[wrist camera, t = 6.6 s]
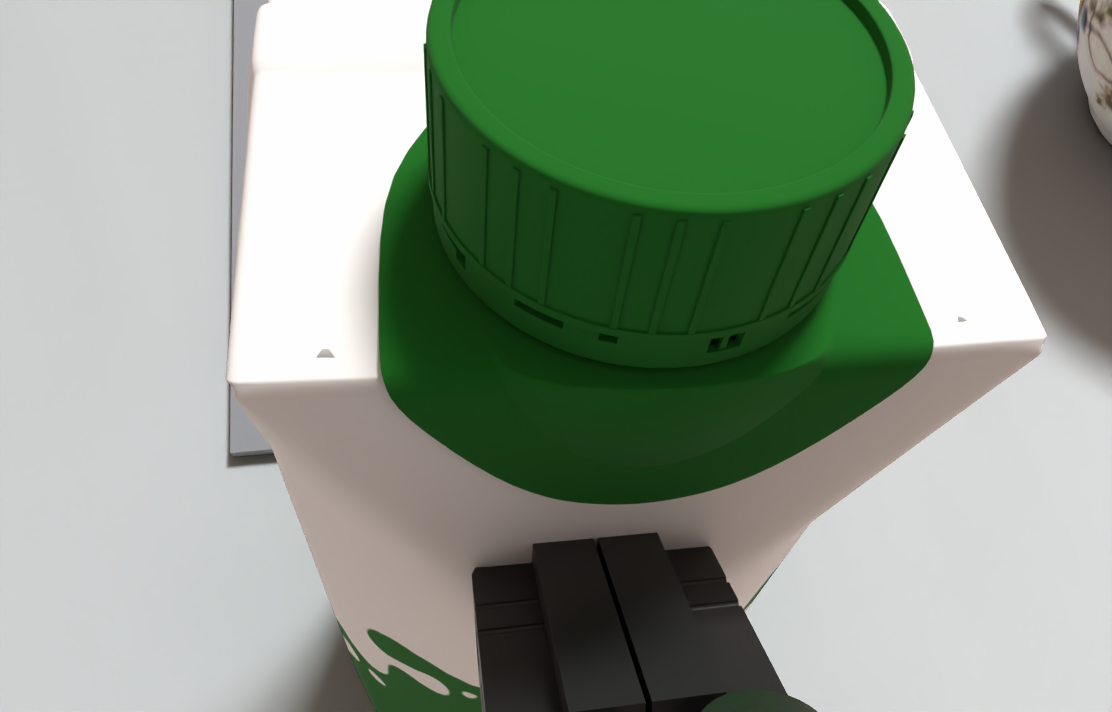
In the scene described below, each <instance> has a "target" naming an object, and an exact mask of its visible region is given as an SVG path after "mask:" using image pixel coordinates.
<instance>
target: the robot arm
mask: <svg viewBox="0 0 1112 712" xmlns="http://www.w3.org/2000/svg"><path fill="white" fill-rule="evenodd" d="M472 589H473V603H474V618H475V633H476V647H477V662H478V675H479V685H480V695H481V704H482V712H817V711H816V710H815V709H813V708H812V707H810V706H809V705H807V704H805V703H804V702H802V701H800V700H798V699H796V698H793V697H791V696H788V695H787V693H786V691H785V689H784V687H783V685H782V683H781V681H780V679H779V677H778V675H777V674H776V672H775V670H774V668H773V666H772V664H771V662H770V660H769V658H768V656H767V654H766V652H765V650H764V648H763V647H762V645H761V643H760V641H759V639H758V637H757V635H756V633H755V631H754V629H753V627H752V625H751V623H750V621H749V620H748V618H747V616H746V614H745V612H744V610H743V608H742V606H739V603H738V598H737V596H736V594H735V593H734V591H733V589H732V587H731V585H730V583H729V582H727V580H726V575H725V573H724V571H723V569H722V567H721V566H720V564H719V562H718V560H717V558H716V556H715V554H714V552H713V550H712V548H710V547H709V546H704V547H694V548H683V549H672V550H665V549H664V547H663V544H662V542H661V540H660V538H659V535H658V533H657V532H655V533H644V534H633V535H623V536H612V537H601V538H598V541H597V547H596V546H595V543H594V540H593V538H590V539H579V540H568V541H557V542H546V543H535V544H533V550H532V563H523V564H512V565H502V566H491V567H475V569H474V571H473V573H472Z"/></svg>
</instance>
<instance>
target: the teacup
mask: <svg viewBox="0 0 1112 712" xmlns="http://www.w3.org/2000/svg"><path fill="white" fill-rule="evenodd" d="M1077 53H1078V62H1079V68H1080V74H1081V77H1082V81H1083V84H1084V87H1085V90H1086V93H1087V96H1088V102H1089V108H1090V112H1091V115H1092V117H1093V119H1094V121H1095V123H1096V125H1097V127H1098V128H1099V130H1100V132H1101V133H1102V135H1103V136H1104V137H1105V139H1106V140H1107V141H1108V142H1109V143H1110V144H1111V145H1112V0H1080V5H1079V14H1078V22H1077Z"/></svg>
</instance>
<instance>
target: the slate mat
mask: <svg viewBox="0 0 1112 712" xmlns="http://www.w3.org/2000/svg"><path fill="white" fill-rule="evenodd" d="M264 4H268V0H234V58H233V169H232V279H231V311H232V298H233V286H234V274H235V262H236V249H237V237H238V225H239V214H240V203H241V192H242V181H243V170H244V159H245V148H246V133H247V97H248V84H249V72H250V63H251V54H252V44H253V36H254V28H255V21H256V15H257V12H258V9H259V8H260V7H261V6H262V5H264ZM269 453H273V450H272V449H271V447H270V445H269V444H268V443H267V441H266V440H265V438H264V437H263V436H262V435H261V433H260V432H259V431H258V429H257V428H256V427H255V425H254V424H253V423H252V421H251V420H250V419H249V417H248V416H247V415H246V413H245V412H244V411H243V409H242V408H241V407H240V406H239V404H238V403H237V402H236V401H235V399H234V397H233V387H232V386H231V390H230V454H231V455H232V456H233V457H236V456H247V455H258V454H269Z"/></svg>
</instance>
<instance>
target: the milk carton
mask: <svg viewBox="0 0 1112 712" xmlns="http://www.w3.org/2000/svg"><path fill="white" fill-rule="evenodd" d="M913 63H914V62H913V58H912V54H911V52H910V49H909V47H908V45H907V43H906V41H905V39H904V37H903V35H902V33H901V31H900V29H899V27H898V25H897V24H896V22H895V20H894V18H893V17H892V15H891V13H890V11H889V10H888V9H887V7H886V6H885V5H884V4H883V3H882V2H880V1H878V0H268V4H264V5H262V6H261V7H260V8H259V9H258V12H257V15H256V21H255V28H254V36H253V44H252V54H251V63H250V72H249V84H248V97H247V133H246V148H245V159H244V170H243V181H242V192H241V203H240V214H239V225H238V237H237V249H236V262H235V274H234V286H233V298H232V311H231V323H230V335H229V346H228V357H227V369H226V381H227V382H228V383H229V384H230V385H231V386H232V387H233V397H234V399H235V401H236V402H237V403H238V404H239V406H240V407H241V408H242V409H243V411H244V412H245V413H246V415H247V416H248V417H249V419H250V420H251V421H252V423H253V424H254V425H255V427H256V428H257V429H258V431H259V432H260V433H261V435H262V436H263V437H264V438H265V440H266V441H267V443H268V444H269V445H270V447H271V449H272V450H273V453H274V455H275V458H276V460H277V463H278V465H279V468H280V471H281V473H282V476H283V479H284V482H285V484H286V487H287V490H288V492H289V495H290V498H291V501H292V503H293V506H294V508H295V511H296V514H297V516H298V519H299V522H300V524H301V527H302V529H303V532H304V535H305V537H306V540H307V543H308V545H309V548H310V551H311V553H312V556H313V558H314V561H315V564H316V566H317V569H318V572H319V574H320V577H321V579H322V582H323V585H324V587H325V590H326V593H327V595H328V598H329V601H330V603H331V606H332V608H333V611H334V614H335V616H336V619H337V622H338V624H339V627H340V629H341V632H342V635H343V637H344V640H345V642H346V645H347V647H348V650H349V652H350V655H351V658H352V660H353V663H354V666H355V668H356V670H357V672H358V675H359V677H360V679H361V681H362V683H363V685H364V687H365V690H366V692H367V694H368V696H369V698H370V700H371V702H372V704H373V706H374V708H375V710H376V712H482V704H481V695H480V685H479V675H478V662H477V647H476V633H475V618H474V603H473V589H472V573H473V571H474V569H475V567H491V566H502V565H512V564H523V563H532V550H533V544H535V543H546V542H557V541H568V540H579V539H590V538H593V540H594V543H595V546H596V547H597V541H598V538H601V537H612V536H623V535H633V534H644V533H655V532H657V533H658V535H659V538H660V540H661V542H662V544H663V547H664V549H665V550H672V549H683V548H694V547H704V546H709V547H710V548H712V550H713V552H714V554H715V556H716V558H717V560H718V562H719V564H720V566H721V567H722V569H723V571H724V573H725V575H726V580H727V582H729V583H730V585H731V587H732V589H733V591H734V593H735V594H736V596H737V598H738V603H739V606H742V608H743V610H744V612H745V611H746V610H747V609H748V607H749V606H750V604H751V603H752V602H753V600H754V599H755V598H756V596H757V595H758V593H759V592H760V591H761V589H762V588H763V587H764V585H765V584H766V583H767V581H768V580H769V578H770V577H771V576H772V574H773V573H774V572H775V570H776V569H777V567H778V566H779V565H780V563H781V562H782V561H783V559H784V558H785V557H786V555H787V554H788V552H789V551H790V550H791V548H792V547H793V546H794V544H795V543H796V542H797V540H798V539H799V537H800V536H801V535H802V533H803V532H804V531H805V529H806V528H807V527H808V525H809V524H810V523H811V522H812V521H813V520H815V519H816V518H817V517H819V516H820V515H821V514H823V513H824V512H825V511H827V510H828V509H830V508H831V507H832V506H834V505H835V504H836V503H838V502H839V501H840V500H842V499H843V498H844V497H846V496H847V495H849V494H850V493H851V492H853V491H854V490H855V489H857V488H858V487H859V486H861V485H862V484H864V483H865V482H866V481H868V480H869V479H870V478H872V477H873V476H874V475H876V474H877V473H878V472H880V471H881V470H883V469H884V468H885V467H887V466H888V465H889V464H891V463H892V462H893V461H895V460H896V459H897V458H899V457H900V456H902V455H903V454H904V453H906V452H907V451H908V450H910V449H911V448H912V447H914V446H915V445H917V444H918V443H919V442H921V441H922V440H923V439H925V438H926V437H927V436H929V435H930V434H932V433H933V432H934V431H936V430H937V429H938V428H940V427H941V426H942V425H944V424H945V423H947V422H948V421H949V420H951V419H952V418H953V417H955V416H956V415H957V414H959V413H960V412H962V411H963V410H964V409H966V408H967V407H968V406H970V405H971V404H972V403H974V402H975V401H977V400H978V399H979V398H981V397H982V396H983V395H985V394H986V393H987V392H989V391H990V390H992V389H993V388H994V387H996V386H997V385H998V384H1000V383H1001V382H1003V381H1004V380H1005V379H1007V378H1008V377H1010V376H1011V375H1012V374H1014V373H1015V372H1017V371H1018V370H1019V369H1021V368H1022V367H1023V366H1025V365H1026V364H1028V363H1029V362H1030V361H1032V360H1033V359H1034V358H1036V357H1037V356H1038V355H1039V354H1040V353H1041V352H1042V345H1043V343H1044V341H1045V338H1046V337H1047V335H1046V333H1045V331H1044V328H1043V326H1042V324H1041V322H1040V320H1039V318H1038V316H1037V314H1036V312H1035V309H1034V307H1033V305H1032V303H1031V301H1030V299H1029V297H1028V295H1027V293H1026V291H1025V289H1024V287H1023V285H1022V283H1021V281H1020V279H1019V277H1018V275H1017V273H1016V271H1015V269H1014V267H1013V265H1012V263H1011V261H1010V259H1009V257H1008V255H1007V253H1006V251H1005V249H1004V247H1003V245H1002V243H1001V241H1000V239H999V237H998V235H997V233H996V231H995V229H994V227H993V225H992V223H991V221H990V219H989V217H988V215H987V213H986V211H985V209H984V207H983V205H982V203H981V201H980V199H979V197H978V195H977V193H976V191H975V189H974V187H973V185H972V183H971V181H970V179H969V177H968V175H967V173H966V171H965V169H964V167H963V165H962V163H961V161H960V159H959V157H958V155H957V153H956V151H955V149H954V147H953V145H952V143H951V141H950V139H949V137H948V135H947V133H946V132H945V130H944V128H943V126H942V124H941V122H940V120H939V118H938V116H937V114H936V112H935V110H934V108H933V106H932V104H931V102H930V100H929V98H928V96H927V94H926V92H925V90H924V88H923V86H922V84H921V82H920V80H919V79H918V77H917V75H916V73H915V71H914V68H913Z"/></svg>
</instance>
